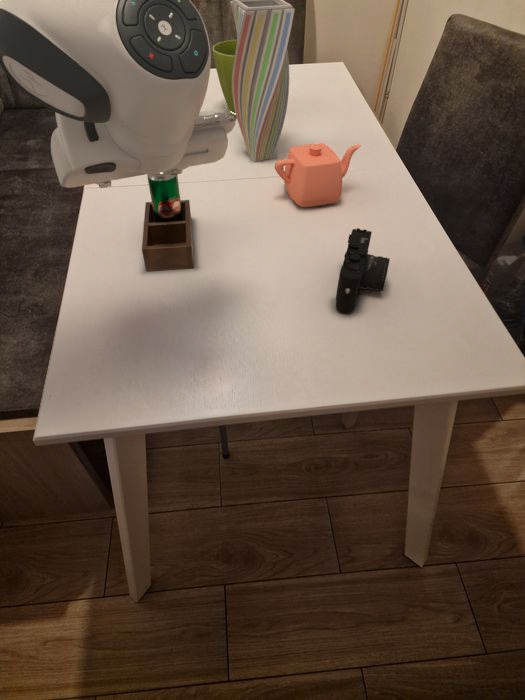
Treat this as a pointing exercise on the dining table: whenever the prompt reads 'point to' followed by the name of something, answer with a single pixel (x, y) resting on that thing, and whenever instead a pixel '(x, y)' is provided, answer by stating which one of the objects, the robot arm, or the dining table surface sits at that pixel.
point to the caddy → (167, 241)
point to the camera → (359, 271)
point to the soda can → (165, 197)
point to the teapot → (314, 173)
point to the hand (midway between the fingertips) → (139, 175)
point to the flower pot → (225, 69)
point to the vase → (261, 72)
